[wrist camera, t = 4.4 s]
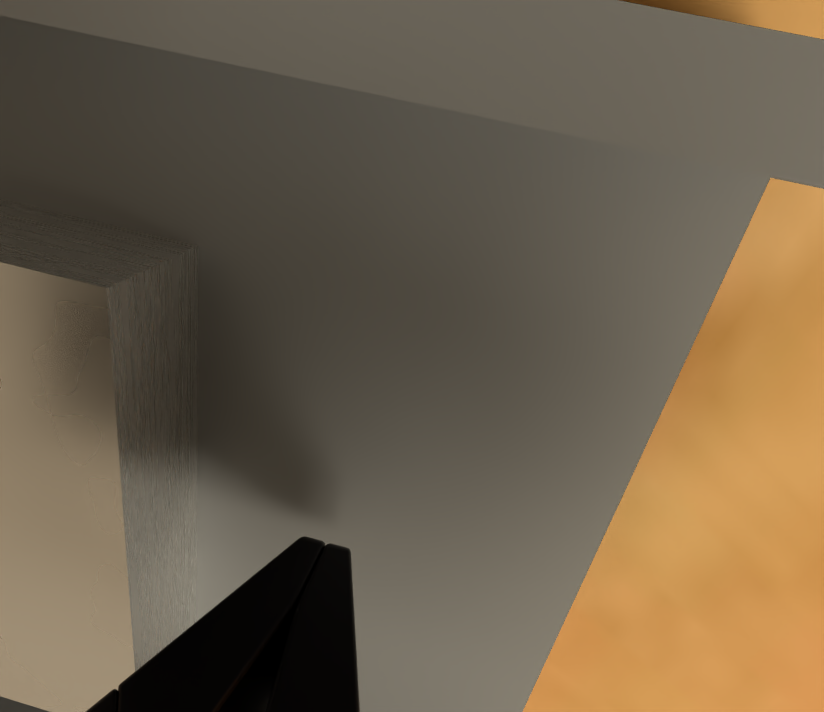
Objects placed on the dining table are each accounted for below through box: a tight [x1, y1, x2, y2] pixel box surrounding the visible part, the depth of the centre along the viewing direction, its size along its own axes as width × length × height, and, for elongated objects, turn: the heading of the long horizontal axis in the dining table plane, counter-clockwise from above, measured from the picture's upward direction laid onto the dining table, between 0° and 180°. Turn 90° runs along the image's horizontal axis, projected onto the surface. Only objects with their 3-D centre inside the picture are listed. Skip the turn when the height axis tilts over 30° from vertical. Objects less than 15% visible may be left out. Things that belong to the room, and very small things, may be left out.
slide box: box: [0, 0, 824, 712], centre depth 10 cm, size 18×16×3 cm
